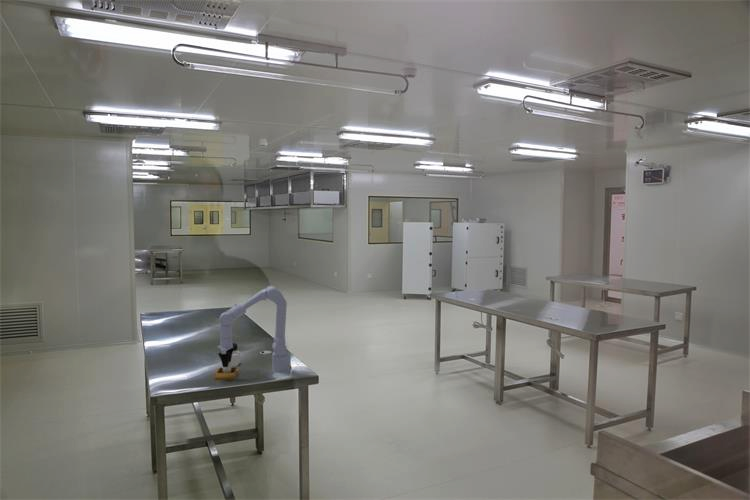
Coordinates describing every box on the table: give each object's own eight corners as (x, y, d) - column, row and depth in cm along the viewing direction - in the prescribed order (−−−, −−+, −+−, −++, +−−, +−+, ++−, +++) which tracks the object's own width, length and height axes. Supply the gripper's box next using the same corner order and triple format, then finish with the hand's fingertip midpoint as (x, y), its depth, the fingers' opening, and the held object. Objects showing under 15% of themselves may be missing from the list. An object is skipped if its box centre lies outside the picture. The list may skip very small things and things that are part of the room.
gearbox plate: (259, 372, 246) (259, 365, 246) (256, 380, 233) (256, 373, 233) (219, 373, 244) (219, 366, 244) (213, 382, 231) (213, 374, 231)
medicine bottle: (240, 364, 259) (239, 342, 259) (236, 368, 252) (236, 345, 252) (226, 364, 259) (226, 342, 258) (222, 368, 252) (222, 345, 251)
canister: (231, 373, 240) (231, 360, 240) (230, 376, 236) (230, 362, 236) (223, 374, 240) (223, 360, 239) (222, 376, 236) (221, 362, 235)
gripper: (221, 333, 243) (221, 360, 244) (214, 341, 229) (215, 369, 230) (235, 333, 244) (235, 359, 245) (229, 340, 230) (230, 368, 231)
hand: (226, 364), depth 238 cm, fingers open, 7 cm apart
